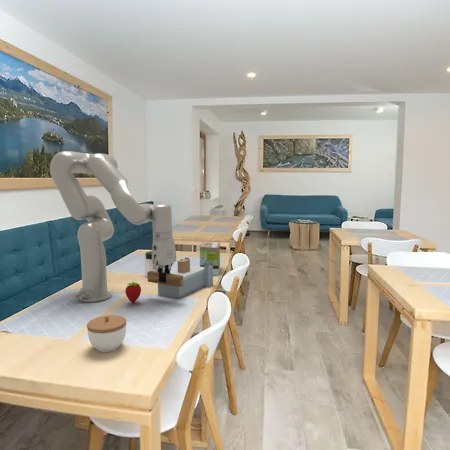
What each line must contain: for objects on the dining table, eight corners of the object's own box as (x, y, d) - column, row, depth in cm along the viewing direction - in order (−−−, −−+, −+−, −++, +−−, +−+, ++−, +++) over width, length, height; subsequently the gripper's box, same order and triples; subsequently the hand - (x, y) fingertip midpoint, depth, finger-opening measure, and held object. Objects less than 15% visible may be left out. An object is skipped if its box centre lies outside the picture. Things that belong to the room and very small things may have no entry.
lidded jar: (130, 338, 109) (129, 309, 108) (121, 356, 99) (120, 323, 97) (95, 339, 109) (93, 309, 108) (82, 356, 98) (80, 324, 97)
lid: (178, 282, 144) (178, 267, 144) (158, 278, 149) (158, 264, 149) (207, 270, 163) (207, 256, 163) (188, 267, 168) (188, 254, 168)
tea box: (219, 275, 180) (219, 246, 179) (199, 275, 181) (199, 246, 179) (220, 268, 195) (220, 241, 193) (201, 268, 196) (201, 241, 194)
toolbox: (183, 300, 144) (183, 272, 143) (154, 294, 151) (153, 267, 150) (213, 285, 164) (212, 260, 163) (185, 280, 171) (185, 257, 170)
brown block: (179, 287, 137) (179, 276, 137) (147, 281, 145) (147, 272, 145) (183, 285, 139) (183, 275, 139) (151, 280, 147) (151, 270, 147)
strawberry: (143, 300, 144) (142, 276, 142) (139, 307, 136) (138, 281, 135) (128, 300, 143) (127, 276, 142) (123, 307, 136) (122, 281, 135)
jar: (166, 276, 178) (165, 253, 177) (151, 279, 173) (150, 255, 172) (157, 273, 185) (156, 250, 184) (142, 275, 180) (142, 252, 179)
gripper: (157, 239, 131) (159, 288, 134) (182, 233, 145) (184, 277, 147) (141, 238, 135) (144, 285, 137) (167, 232, 149) (169, 275, 151)
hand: (164, 281), depth 142 cm, fingers closed on brown block, 2 cm apart
